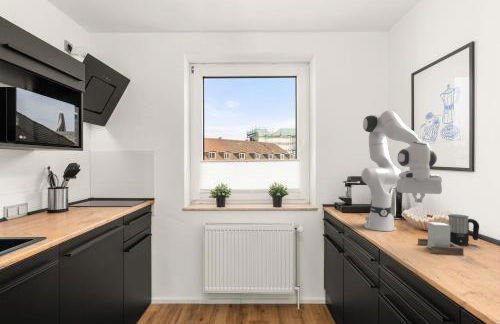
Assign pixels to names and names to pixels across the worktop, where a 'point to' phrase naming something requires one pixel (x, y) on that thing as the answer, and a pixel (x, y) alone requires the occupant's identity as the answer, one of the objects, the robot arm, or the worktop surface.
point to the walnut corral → (443, 248)
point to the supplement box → (438, 234)
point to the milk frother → (462, 229)
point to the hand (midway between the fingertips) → (418, 202)
